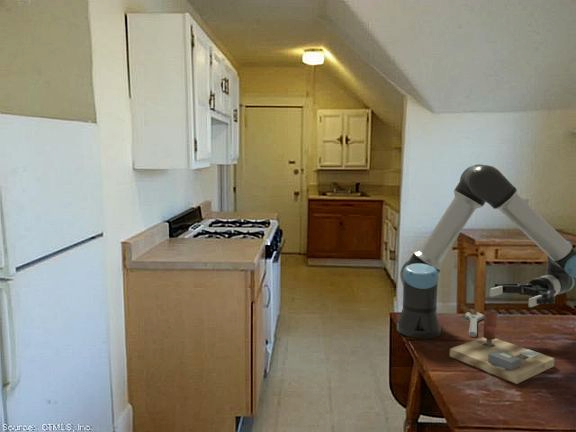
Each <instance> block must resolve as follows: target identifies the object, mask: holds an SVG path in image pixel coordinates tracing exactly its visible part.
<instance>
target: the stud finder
mask: <svg viewBox="0 0 576 432" xmlns="http://www.w3.org/2000/svg"><path fill="white" fill-rule="evenodd" d="M488 362H490V363H492V364H495V365H497V366H500V367H503V368H505V369H508V370H510V371H511V370H513V369H516V368H518V367H520V366H521V358H519V357H516V356H513V355H510V354H508V353H505V352H502V351H499V350H498V351H495V352H492V353H490V354H489V355H488Z"/></svg>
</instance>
